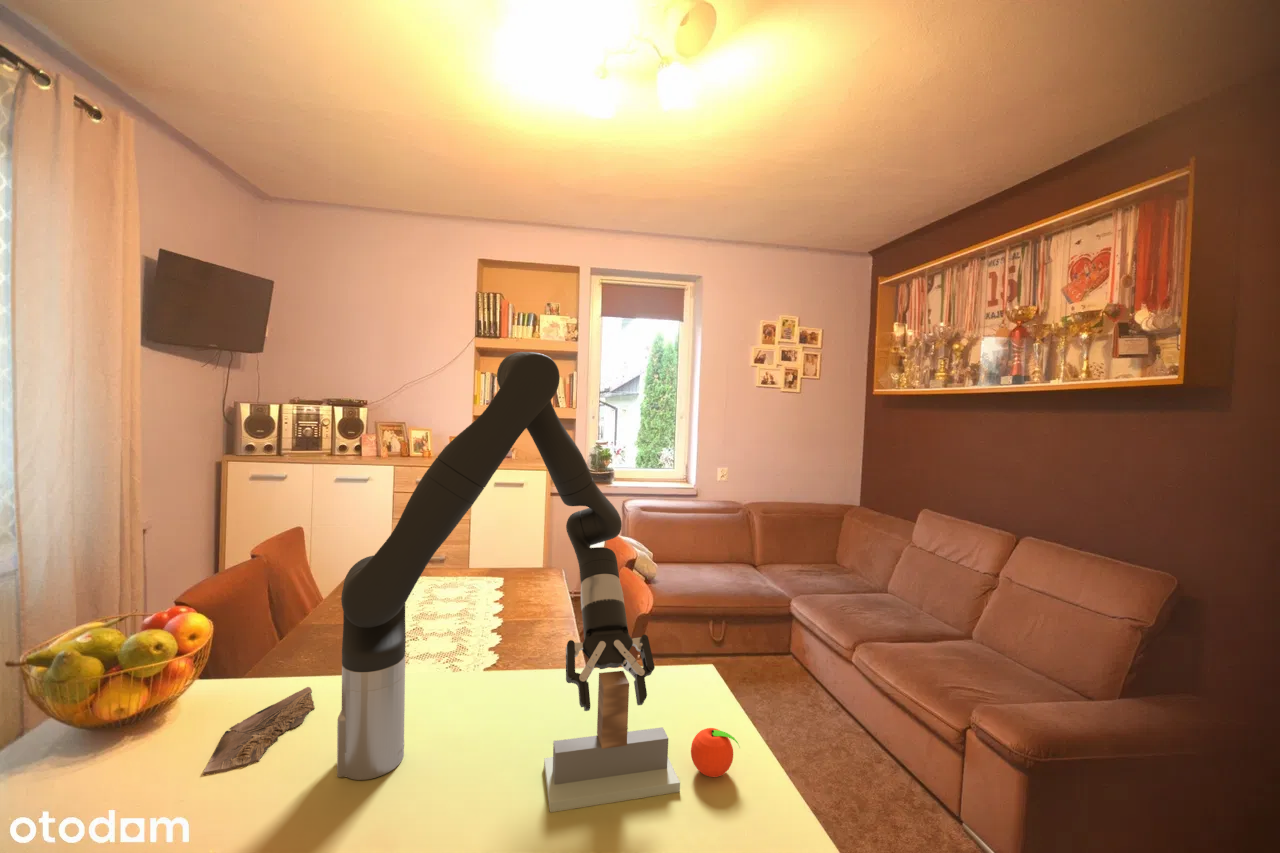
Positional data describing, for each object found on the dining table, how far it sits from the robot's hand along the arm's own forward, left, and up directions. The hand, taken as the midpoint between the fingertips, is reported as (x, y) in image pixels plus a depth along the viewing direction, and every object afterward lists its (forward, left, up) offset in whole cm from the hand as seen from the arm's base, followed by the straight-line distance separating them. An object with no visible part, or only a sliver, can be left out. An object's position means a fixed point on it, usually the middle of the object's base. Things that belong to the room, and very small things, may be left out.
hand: (614, 706), depth 85 cm
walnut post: (0, +1, -6) cm, 6 cm away
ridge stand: (0, +1, -13) cm, 13 cm away
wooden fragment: (-57, +27, -13) cm, 65 cm away
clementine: (+17, -1, -13) cm, 21 cm away
